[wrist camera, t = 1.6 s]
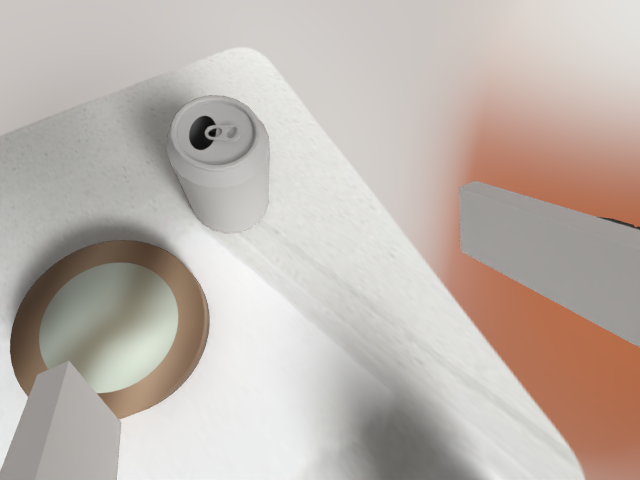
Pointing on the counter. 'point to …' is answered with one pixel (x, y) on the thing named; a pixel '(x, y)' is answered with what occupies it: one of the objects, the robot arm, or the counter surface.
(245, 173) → the can
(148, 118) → the counter surface
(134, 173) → the counter surface
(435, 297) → the counter surface
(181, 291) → the pedestal
